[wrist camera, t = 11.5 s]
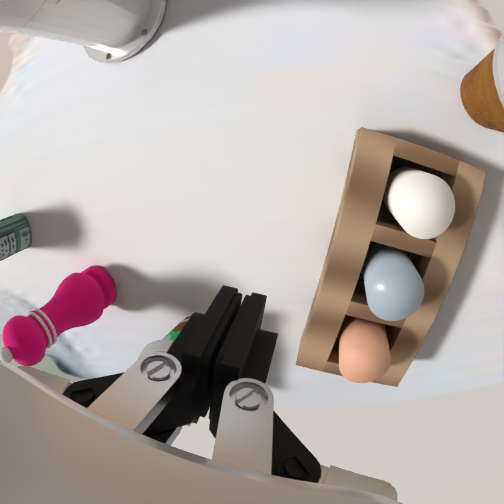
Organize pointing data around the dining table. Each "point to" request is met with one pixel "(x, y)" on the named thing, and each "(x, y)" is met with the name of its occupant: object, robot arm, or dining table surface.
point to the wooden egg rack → (391, 234)
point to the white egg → (419, 202)
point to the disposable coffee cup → (486, 90)
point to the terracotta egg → (363, 350)
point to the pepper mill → (58, 315)
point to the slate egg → (391, 283)
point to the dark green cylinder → (14, 235)
